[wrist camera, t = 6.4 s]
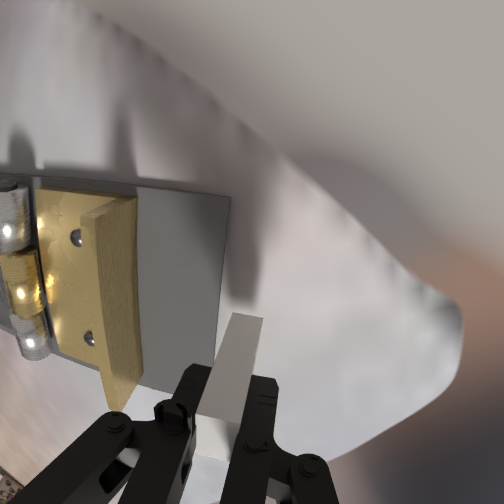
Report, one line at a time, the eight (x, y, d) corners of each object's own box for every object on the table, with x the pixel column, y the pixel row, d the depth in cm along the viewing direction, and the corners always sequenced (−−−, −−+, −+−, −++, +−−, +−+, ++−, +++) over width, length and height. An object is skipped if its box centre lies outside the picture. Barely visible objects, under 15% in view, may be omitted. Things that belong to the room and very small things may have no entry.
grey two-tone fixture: (-24, 312, 23) (-27, 314, 22) (-49, 171, 17) (-52, 172, 17) (210, 399, 21) (209, 403, 20) (230, 197, 15) (229, 199, 15)
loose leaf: (37, 334, 21) (8, 363, 17) (14, 183, 16) (-30, 198, 13) (144, 372, 20) (120, 413, 16) (137, 196, 16) (95, 218, 12)
